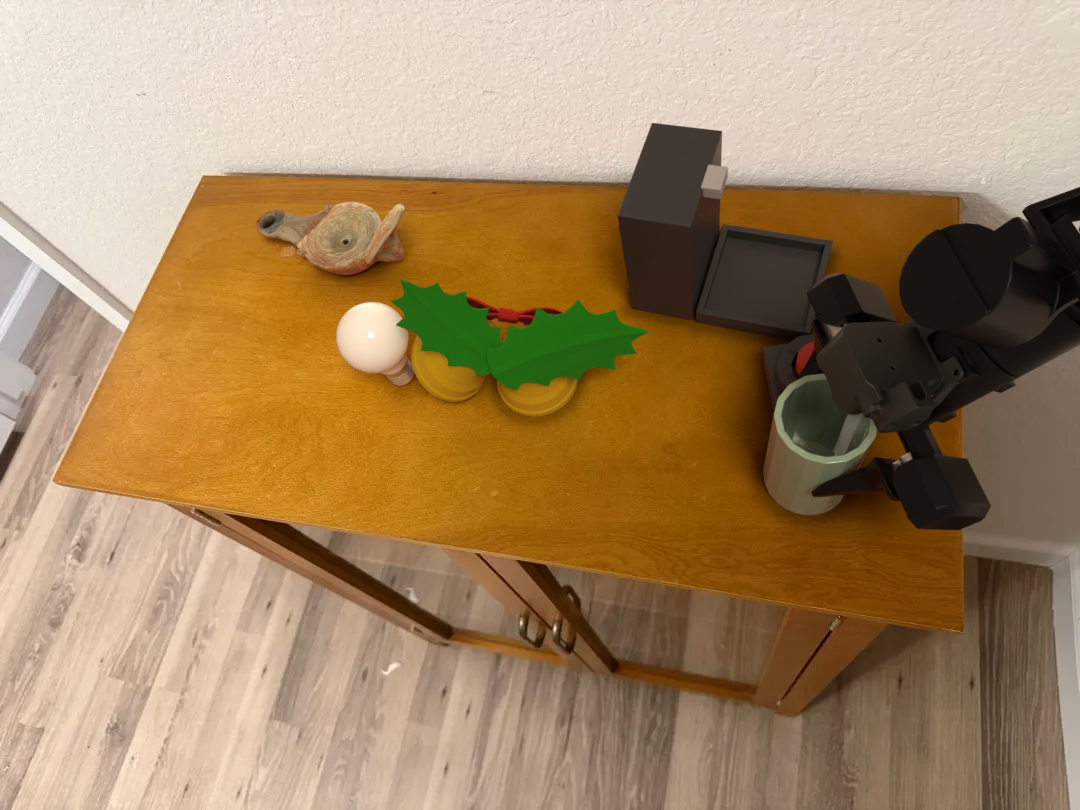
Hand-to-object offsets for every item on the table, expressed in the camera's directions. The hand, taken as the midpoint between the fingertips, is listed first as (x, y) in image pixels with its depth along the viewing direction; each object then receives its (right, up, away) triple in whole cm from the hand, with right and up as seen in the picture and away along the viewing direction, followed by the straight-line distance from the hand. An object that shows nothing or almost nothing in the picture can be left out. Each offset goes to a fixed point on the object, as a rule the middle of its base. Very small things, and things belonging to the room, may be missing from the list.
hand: (797, 450), depth 58 cm
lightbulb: (-33, +6, +18) cm, 38 cm away
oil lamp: (-40, +20, +26) cm, 52 cm away
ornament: (-20, +6, +15) cm, 25 cm away
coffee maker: (-1, +15, +15) cm, 22 cm away
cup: (+3, -2, +6) cm, 7 cm away
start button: (+3, +7, +6) cm, 9 cm away
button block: (+4, +5, +9) cm, 11 cm away
